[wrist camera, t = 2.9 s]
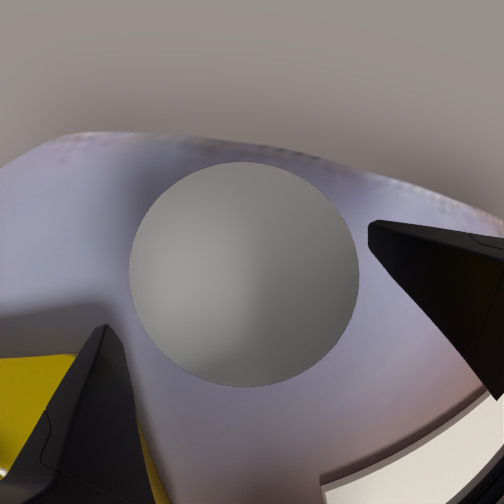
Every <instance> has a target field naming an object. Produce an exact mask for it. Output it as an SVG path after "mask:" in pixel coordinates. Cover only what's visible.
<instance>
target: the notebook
mask: <svg viewBox="0 0 504 504" xmlns="http://www.w3.org/2000/svg"><path fill="white" fill-rule="evenodd" d="M503 444H504V394H503V395H502V396H501V397H500V398H499V399H498V401H496V400H495V399H494V398H493V397H492V395H491V394H490V393H489V391H488V390H487V391H486V392H485V393H484V394H483V395H482V396H480V397H479V398H478V399H477V400H475V401H474V402H473V403H472V404H470V405H469V406H468V407H467V408H465V409H464V410H463V411H461V412H460V413H459V414H457V415H456V416H455V417H453V418H452V419H450V420H449V421H448V422H446V423H445V424H443V425H442V426H440V427H439V428H437V429H436V430H434V431H433V432H431V433H430V434H428V435H427V436H425V437H423V438H422V439H420V440H418V441H417V442H415V443H413V444H412V445H410V446H408V447H406V448H405V449H403V450H401V451H399V452H397V453H395V454H394V455H392V456H390V457H388V458H386V459H384V460H382V461H380V462H378V463H376V464H374V465H371V466H369V467H367V468H365V469H363V470H360V471H358V472H356V473H353V474H351V475H349V476H346V477H344V478H341V479H339V480H336V481H333V482H331V483H328V484H325V485H322V486H320V487H321V492H322V497H323V502H324V504H446V503H447V502H448V501H449V500H450V499H451V498H452V497H454V496H455V495H456V494H457V493H458V492H459V491H460V490H461V489H462V488H463V487H465V486H466V485H467V484H468V483H469V482H470V481H471V480H472V479H473V478H474V477H475V476H476V475H477V474H478V473H479V472H480V470H481V469H482V468H483V467H484V466H485V465H486V464H487V463H488V462H489V461H490V460H491V458H492V457H493V456H494V455H495V454H496V453H497V451H498V450H499V449H500V448H501V447H502V445H503Z"/></svg>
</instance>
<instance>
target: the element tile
mask: <svg viewBox="0 0 504 504" xmlns="http://www.w3.org/2000/svg"><path fill="white" fill-rule="evenodd" d="M77 355H78V353H70V354H55V355H44V356H31V357H16V358H0V480H1V479H2V478H4V476H5V475H6V474H7V473H8V471H9V469H10V468H11V466H12V464H13V462H14V461H15V459H16V457H17V456H18V454H19V452H20V451H21V449H22V447H23V446H24V444H25V442H26V441H27V439H28V437H29V436H30V434H31V432H32V431H33V429H34V427H35V425H36V424H37V422H38V420H39V418H40V417H41V415H42V413H43V411H44V410H46V409H45V408H46V406H47V404H48V402H49V401H50V399H51V397H52V395H53V394H54V392H55V390H56V389H57V387H58V385H59V384H60V382H61V380H62V379H63V377H64V375H65V374H66V372H67V371H68V369H69V367H70V366H71V364H72V363H73V361H74V360H75V358H76V356H77ZM136 417H137V415H136ZM137 423H138V429H139V435H140V440H141V445H142V450H143V455H144V460H145V464H146V469H147V473H148V477H149V481H150V485H151V489H152V492H153V496H154V499H155V503H156V504H171V503H170V501H169V499H168V497H167V495H166V493H165V490H164V488H163V486H162V484H161V481H160V479H159V476H158V474H157V472H156V469H155V467H154V464H153V461H152V459H151V456H150V453H149V451H148V448H147V445H146V442H145V440H144V437H143V434H142V431H141V428H140V424H139V421H138V418H137Z"/></svg>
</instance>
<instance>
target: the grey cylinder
mask: <svg viewBox="0 0 504 504" xmlns="http://www.w3.org/2000/svg"><path fill="white" fill-rule="evenodd" d="M129 284H130V291H131V297H132V300H133V304H134V307H135V310H136V313H137V315H138V318H139V320H140V322H141V324H142V326H143V328H144V329H145V331H146V333H147V334H148V336H149V337H150V339H151V340H152V341H153V343H154V344H155V345H156V346H157V347H158V348H159V349H160V351H161V352H162V353H163V354H164V355H166V356H167V357H168V358H169V359H170V360H171V361H172V362H174V363H175V364H176V365H178V366H179V367H181V368H183V369H184V370H186V371H187V372H189V373H191V374H193V375H195V376H197V377H200V378H202V379H204V380H207V381H211V382H214V383H217V384H222V385H228V386H235V387H256V386H264V385H270V384H274V383H277V382H281V381H284V380H287V379H289V378H292V377H294V376H296V375H298V374H300V373H302V372H304V371H305V370H307V369H309V368H310V367H312V366H313V365H315V364H316V363H317V362H318V361H319V360H321V359H322V358H323V357H324V356H325V355H326V354H327V353H328V352H329V351H330V350H331V349H332V348H333V347H334V345H335V344H336V343H337V342H338V340H339V339H340V337H341V336H342V334H343V333H344V331H345V329H346V327H347V325H348V323H349V321H350V319H351V317H352V314H353V311H354V308H355V305H356V300H357V295H358V289H359V265H358V257H357V252H356V248H355V245H354V242H353V239H352V236H351V233H350V231H349V229H348V227H347V225H346V223H345V221H344V219H343V218H342V216H341V215H340V213H339V212H338V210H337V209H336V208H335V206H334V205H333V204H332V203H331V202H330V200H329V199H328V198H327V197H326V196H325V195H324V194H323V193H321V192H320V191H319V190H318V189H317V188H316V187H314V186H313V185H312V184H310V183H309V182H308V181H306V180H304V179H302V178H301V177H299V176H297V175H295V174H293V173H291V172H289V171H286V170H284V169H281V168H278V167H274V166H271V165H266V164H261V163H253V162H230V163H224V164H218V165H213V166H210V167H207V168H203V169H201V170H198V171H196V172H194V173H191V174H189V175H188V176H186V177H184V178H182V179H181V180H179V181H177V182H176V183H175V184H173V185H172V186H171V187H170V188H168V189H167V190H166V191H165V192H164V193H163V194H162V195H161V196H160V197H159V198H158V199H157V200H156V201H155V202H154V204H153V205H152V206H151V207H150V209H149V210H148V211H147V213H146V215H145V216H144V218H143V220H142V222H141V223H140V226H139V228H138V230H137V233H136V235H135V238H134V241H133V245H132V249H131V254H130V262H129Z"/></svg>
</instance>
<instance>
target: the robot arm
mask: <svg viewBox="0 0 504 504" xmlns="http://www.w3.org/2000/svg"><path fill="white" fill-rule="evenodd" d="M368 247H369V249H370V251H371V252H372V253H373V254H374V256H375V257H376V258H377V259H378V261H379V262H380V263H381V264H382V265H383V267H384V268H385V269H386V270H387V272H388V273H389V274H390V276H391V277H392V278H393V279H394V280H395V281H396V282H397V284H398V285H399V286H400V287H401V288H402V289H403V290H404V291H405V292H406V293H407V294H408V295H409V296H410V297H411V298H412V299H413V301H414V302H415V303H416V304H417V305H418V306H419V307H420V308H421V309H422V310H423V311H424V313H425V314H426V315H427V316H428V317H429V318H430V319H431V320H432V322H433V323H434V324H435V325H436V326H437V327H438V328H439V330H440V331H441V332H442V333H443V334H444V335H445V337H446V338H447V339H448V340H449V341H450V343H451V344H452V345H453V346H454V347H455V349H456V350H457V351H458V352H459V353H460V355H461V356H462V357H463V358H464V360H465V361H466V362H467V364H468V365H469V366H470V368H471V369H472V370H473V371H474V373H475V374H476V375H477V377H478V378H479V379H480V381H481V382H482V383H483V385H484V386H485V387H486V389H487V390H488V391H489V393H490V394H491V395H492V397H493V398H494V399H495V400H496V401H498V399H499V398H500V397H501V396H502V395H503V394H504V238H498V237H491V236H485V235H479V234H473V233H466V232H461V231H455V230H449V229H442V228H436V227H429V226H422V225H415V224H408V223H401V222H393V221H386V220H376V221H373V222H371V223H370V224H369V225H368ZM45 409H46V410H44V411H43V413H42V415H41V417H40V418H39V420H38V422H37V424H36V425H35V427H34V429H33V431H32V432H31V434H30V436H29V437H28V439H27V441H26V442H25V444H24V446H23V447H22V449H21V451H20V452H19V454H18V456H17V457H16V459H15V461H14V462H13V464H12V466H11V468H10V469H9V471H8V473H7V474H6V475H5V476H4V478H2V479H1V480H0V504H156V503H155V499H154V496H153V492H152V489H151V485H150V481H149V477H148V473H147V469H146V464H145V460H144V455H143V450H142V445H141V440H140V435H139V429H138V423H137V417H136V411H135V404H134V396H133V390H132V385H131V381H130V376H129V372H128V367H127V362H126V358H125V352H124V348H123V345H122V343H121V341H120V339H119V338H118V337H117V335H116V334H115V332H114V331H113V329H112V328H111V327H110V325H108V324H104V325H101V326H98V327H96V328H95V329H94V331H93V332H92V334H91V335H90V337H89V338H88V340H87V341H86V343H85V344H84V346H83V347H82V349H81V350H80V352H79V353H78V355H77V356H76V358H75V360H74V361H73V363H72V364H71V366H70V367H69V369H68V371H67V372H66V374H65V375H64V377H63V379H62V380H61V382H60V384H59V385H58V387H57V389H56V390H55V392H54V394H53V395H52V397H51V399H50V401H49V402H48V404H47V406H46V408H45ZM503 495H504V444H503V445H502V447H501V448H500V449H499V450H498V451H497V453H496V454H495V455H494V456H493V457H492V458H491V460H490V461H489V462H488V463H487V464H486V465H485V466H484V467H483V468H482V469H481V470H480V472H479V473H478V474H477V475H476V476H475V477H474V478H473V479H472V480H471V481H470V482H469V483H468V484H467V485H466V486H465V487H463V488H462V489H461V490H460V491H459V492H458V493H457V494H456V495H455V496H454V497H452V498H451V499H450V500H449V501H448V502H447V503H446V504H504V497H503ZM502 497H503V498H502Z"/></svg>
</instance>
